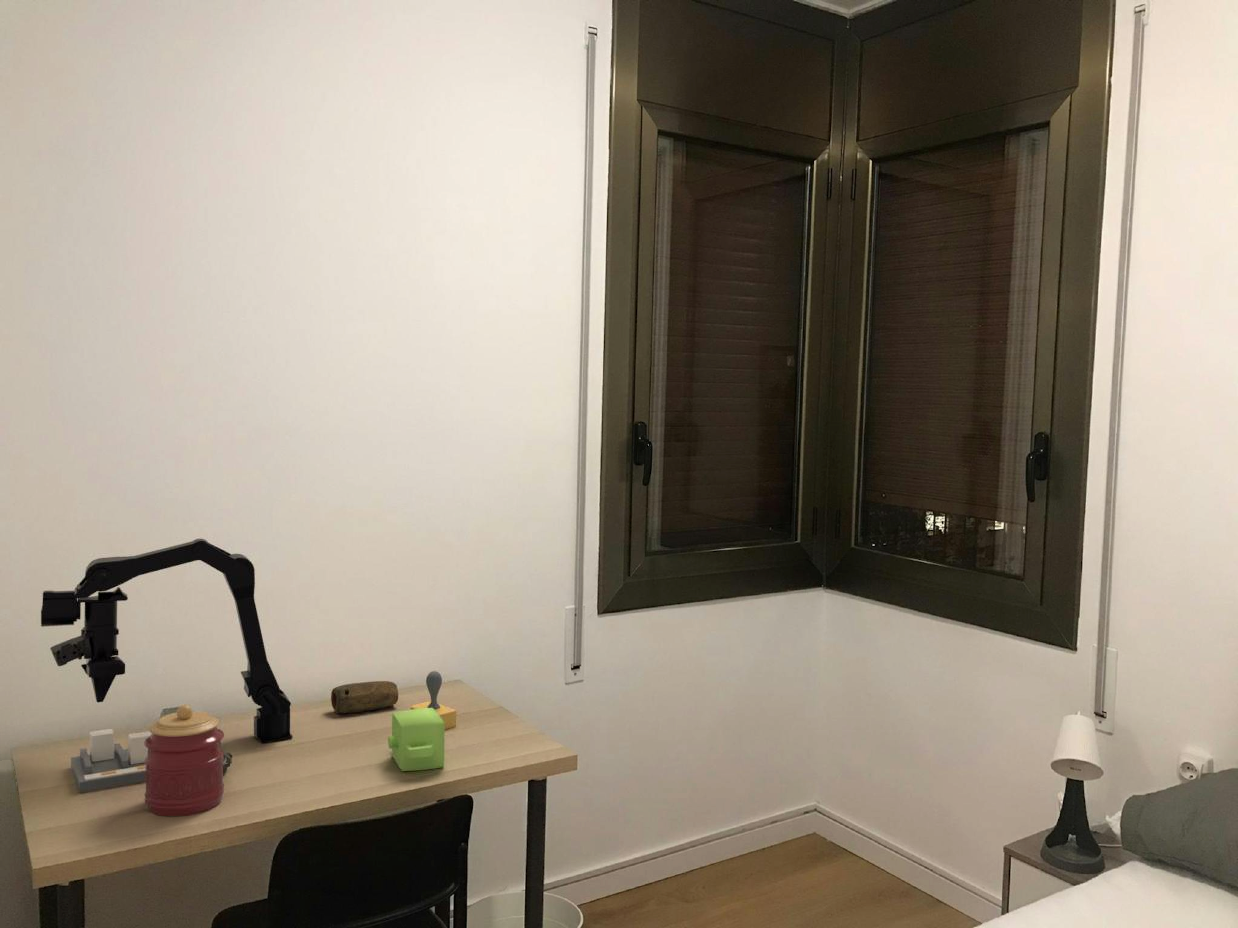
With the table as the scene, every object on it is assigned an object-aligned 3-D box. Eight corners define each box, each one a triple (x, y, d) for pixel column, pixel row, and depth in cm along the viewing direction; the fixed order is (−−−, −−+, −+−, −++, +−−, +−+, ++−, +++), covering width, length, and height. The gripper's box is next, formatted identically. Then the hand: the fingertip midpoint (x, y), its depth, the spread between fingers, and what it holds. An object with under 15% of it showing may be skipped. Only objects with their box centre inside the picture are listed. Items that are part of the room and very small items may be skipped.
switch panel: (160, 753, 205) (160, 736, 205) (174, 776, 193) (174, 758, 193) (70, 767, 196) (70, 749, 196) (79, 793, 184) (79, 774, 184)
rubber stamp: (457, 726, 227) (457, 673, 226) (435, 731, 223) (436, 677, 222) (430, 716, 234) (431, 664, 233) (409, 721, 229) (410, 669, 229)
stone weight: (340, 719, 230) (340, 690, 229) (328, 712, 235) (328, 683, 235) (401, 708, 239) (401, 680, 238) (388, 701, 244) (388, 673, 244)
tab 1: (111, 753, 198) (111, 728, 198) (114, 758, 196) (113, 732, 196) (90, 757, 196) (89, 731, 196) (91, 761, 194) (91, 736, 194)
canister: (231, 808, 179) (231, 709, 178) (150, 823, 172) (150, 720, 171) (215, 784, 190) (215, 690, 189) (139, 797, 183) (138, 700, 182)
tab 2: (149, 756, 198) (149, 730, 197) (152, 760, 195) (152, 735, 195) (128, 759, 195) (128, 734, 195) (130, 764, 193) (130, 738, 193)
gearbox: (379, 749, 211) (379, 704, 210) (427, 744, 214) (427, 699, 214) (396, 779, 194) (397, 731, 194) (447, 773, 198) (448, 725, 197)
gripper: (48, 617, 203) (47, 695, 204) (59, 636, 188) (58, 720, 188) (110, 613, 209) (109, 688, 210) (126, 631, 194) (125, 711, 195)
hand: (99, 701), depth 201 cm, fingers closed
